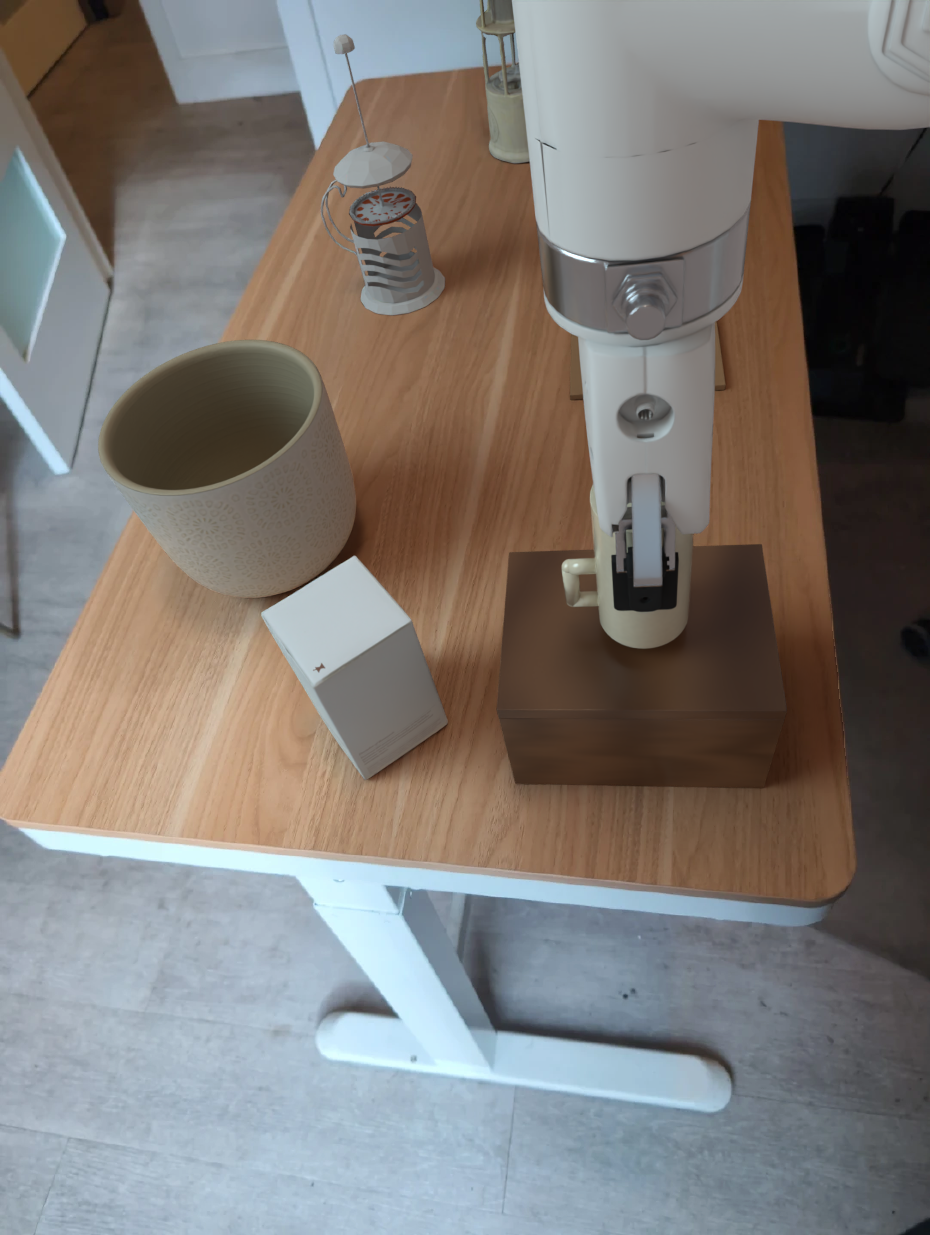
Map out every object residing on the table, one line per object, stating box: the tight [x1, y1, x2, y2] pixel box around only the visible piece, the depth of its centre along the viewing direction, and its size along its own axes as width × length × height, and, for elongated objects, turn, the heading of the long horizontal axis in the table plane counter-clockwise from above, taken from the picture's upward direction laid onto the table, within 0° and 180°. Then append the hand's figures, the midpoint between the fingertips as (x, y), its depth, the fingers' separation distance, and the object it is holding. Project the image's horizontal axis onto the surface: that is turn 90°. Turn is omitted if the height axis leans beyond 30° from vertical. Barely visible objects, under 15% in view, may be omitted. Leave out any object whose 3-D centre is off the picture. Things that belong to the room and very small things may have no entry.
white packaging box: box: [260, 555, 449, 781], centre depth 56 cm, size 7×7×13 cm
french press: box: [320, 33, 446, 316], centre depth 84 cm, size 10×12×25 cm
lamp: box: [475, 0, 530, 164], centre depth 98 cm, size 10×13×30 cm
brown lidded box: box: [496, 543, 788, 789], centre depth 54 cm, size 16×12×10 cm
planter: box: [97, 339, 357, 599], centre depth 67 cm, size 17×17×15 cm
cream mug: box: [562, 484, 695, 649], centre depth 45 cm, size 7×5×10 cm
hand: (642, 559), depth 45 cm, fingers closed on cream mug, 5 cm apart
